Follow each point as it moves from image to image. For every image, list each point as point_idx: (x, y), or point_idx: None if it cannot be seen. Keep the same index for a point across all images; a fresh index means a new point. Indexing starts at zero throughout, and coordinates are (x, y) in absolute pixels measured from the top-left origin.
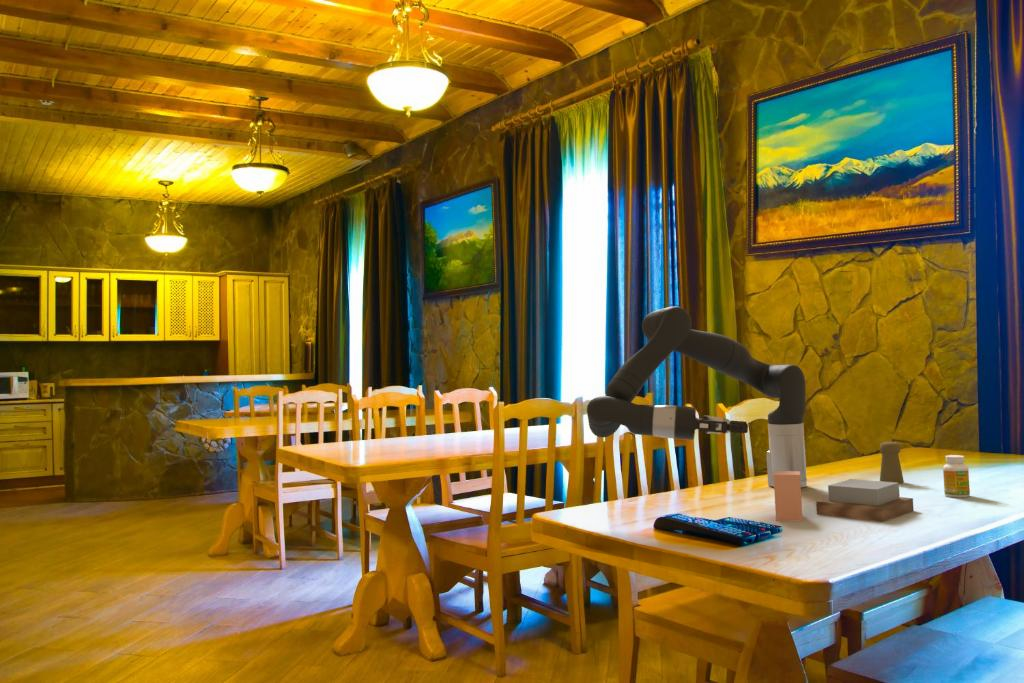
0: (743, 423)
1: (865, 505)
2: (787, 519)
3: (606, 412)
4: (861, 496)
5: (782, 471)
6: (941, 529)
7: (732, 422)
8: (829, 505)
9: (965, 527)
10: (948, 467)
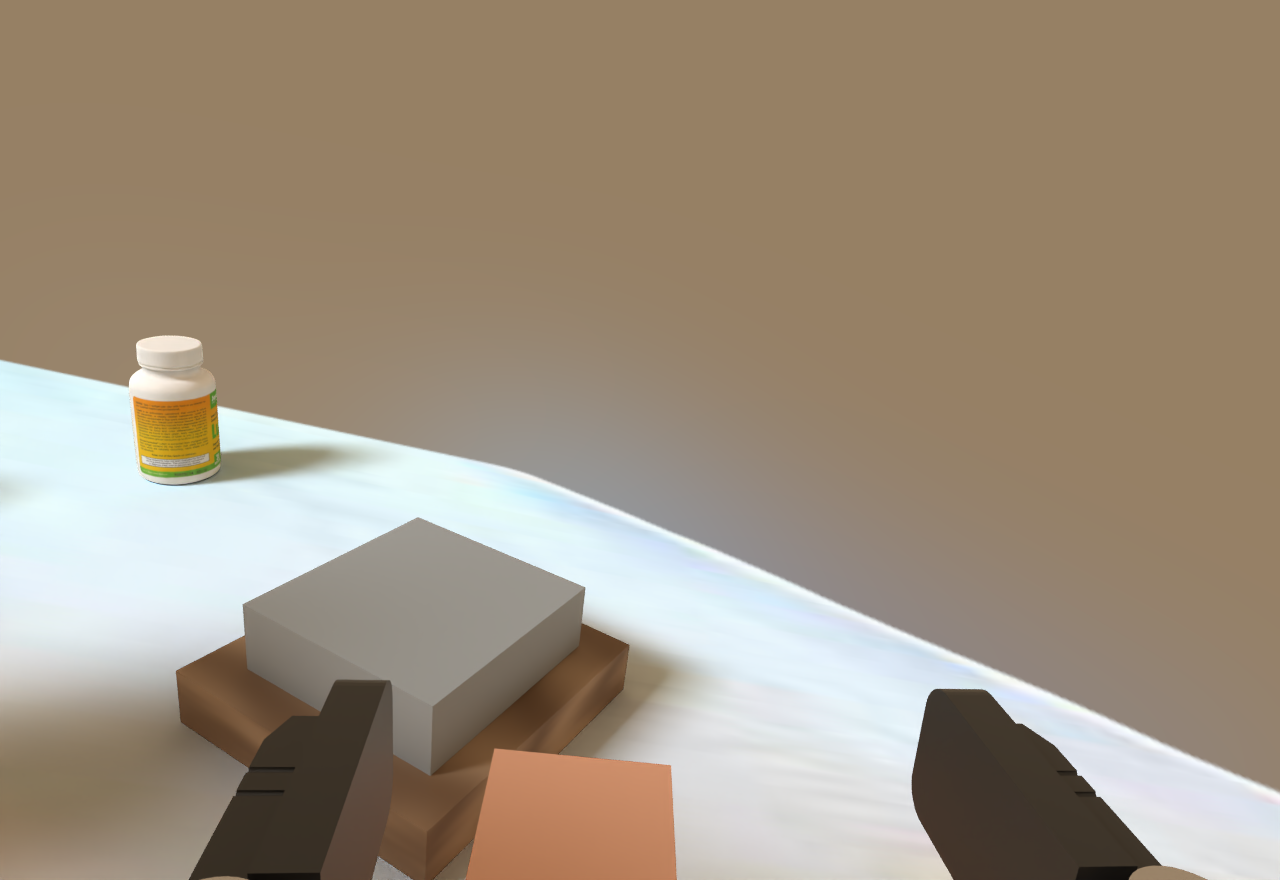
0: (1009, 720)
1: (563, 675)
2: None
3: None
4: (542, 651)
5: (490, 847)
6: (724, 599)
7: (1116, 842)
8: (480, 792)
9: (682, 558)
10: (185, 388)
